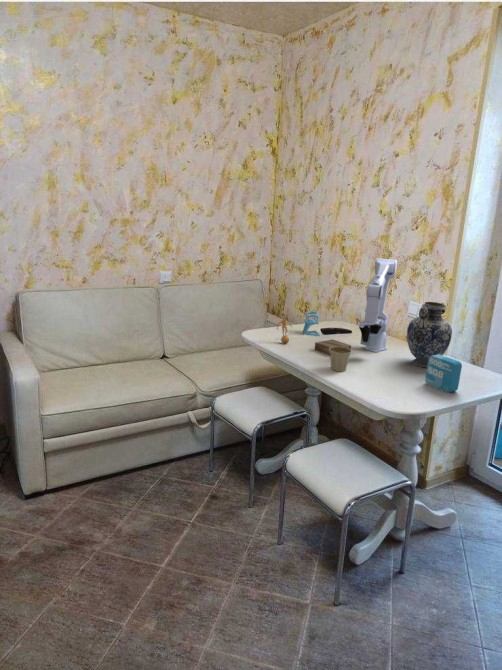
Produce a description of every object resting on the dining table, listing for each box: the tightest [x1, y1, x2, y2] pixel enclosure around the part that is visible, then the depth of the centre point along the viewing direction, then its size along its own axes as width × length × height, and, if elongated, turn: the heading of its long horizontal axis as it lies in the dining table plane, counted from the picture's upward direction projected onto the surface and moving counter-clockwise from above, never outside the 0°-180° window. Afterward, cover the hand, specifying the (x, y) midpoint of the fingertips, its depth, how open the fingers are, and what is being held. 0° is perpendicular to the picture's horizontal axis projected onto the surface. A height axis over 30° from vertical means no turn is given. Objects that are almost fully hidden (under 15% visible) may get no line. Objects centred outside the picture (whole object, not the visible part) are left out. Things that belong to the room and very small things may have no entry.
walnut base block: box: [314, 338, 352, 356], centre depth 227 cm, size 12×12×4 cm
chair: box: [301, 311, 320, 337], centre depth 256 cm, size 8×8×12 cm
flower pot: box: [329, 347, 353, 372], centre depth 201 cm, size 9×9×9 cm
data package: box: [425, 355, 463, 393], centre depth 186 cm, size 12×4×12 cm, turn 30°
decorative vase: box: [406, 301, 453, 369], centre depth 212 cm, size 21×19×28 cm
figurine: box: [276, 318, 293, 344], centre depth 236 cm, size 8×6×12 cm
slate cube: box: [360, 333, 378, 347], centre depth 217 cm, size 5×5×5 cm
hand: (368, 340), depth 217 cm, fingers closed on slate cube, 5 cm apart
